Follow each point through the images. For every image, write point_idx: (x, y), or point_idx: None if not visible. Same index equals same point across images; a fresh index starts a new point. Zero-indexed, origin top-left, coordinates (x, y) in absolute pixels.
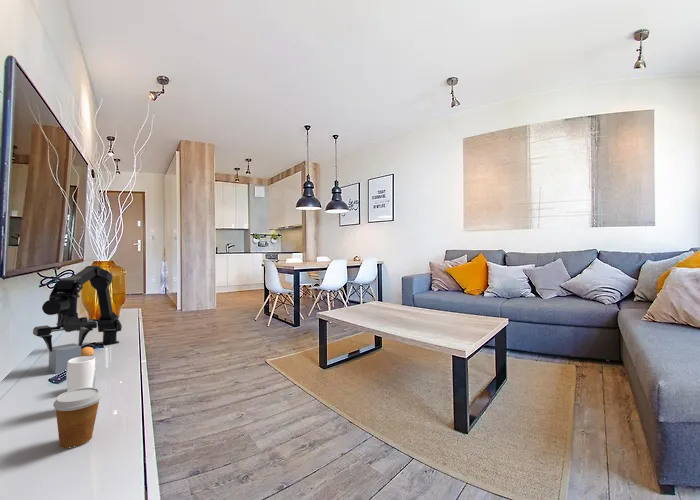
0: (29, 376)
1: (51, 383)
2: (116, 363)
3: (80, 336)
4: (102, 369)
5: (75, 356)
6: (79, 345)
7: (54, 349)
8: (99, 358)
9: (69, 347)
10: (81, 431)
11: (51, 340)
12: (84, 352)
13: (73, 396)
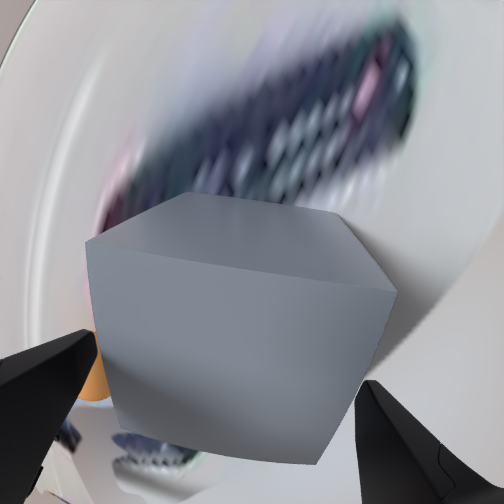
0: (417, 298)
1: (422, 54)
2: (42, 115)
3: (28, 422)
4: (126, 51)
5: (187, 219)
6: (90, 344)
7: (353, 384)
8: (63, 291)
9: (198, 334)
10: None
11: (436, 486)
12: (96, 360)
13: None
